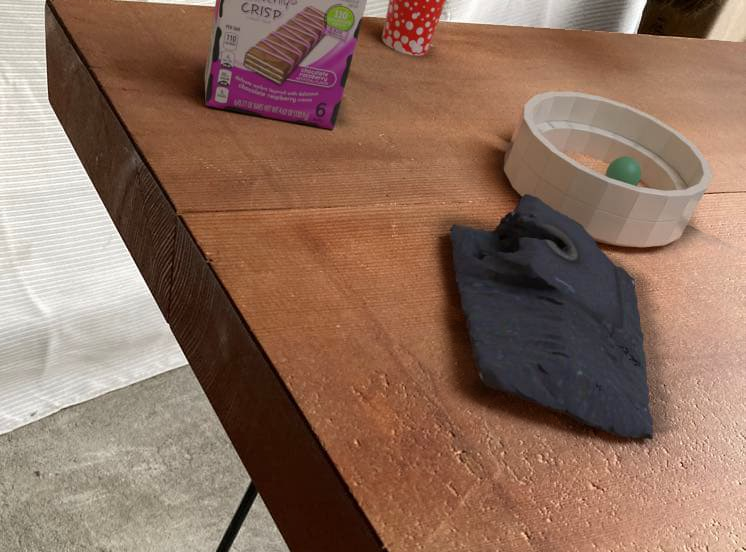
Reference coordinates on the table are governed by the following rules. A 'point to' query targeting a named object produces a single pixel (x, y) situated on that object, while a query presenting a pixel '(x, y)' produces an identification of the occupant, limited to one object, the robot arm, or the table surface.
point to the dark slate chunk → (554, 318)
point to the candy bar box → (282, 57)
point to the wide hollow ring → (608, 142)
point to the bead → (624, 170)
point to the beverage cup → (411, 25)
